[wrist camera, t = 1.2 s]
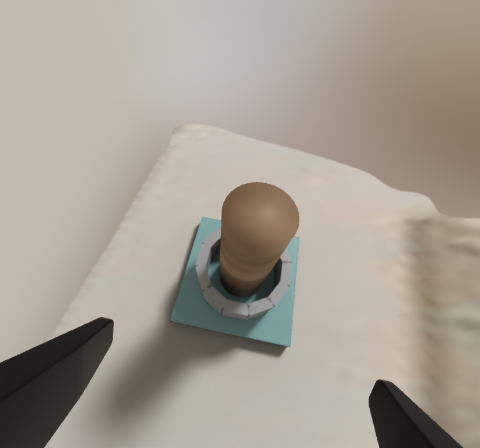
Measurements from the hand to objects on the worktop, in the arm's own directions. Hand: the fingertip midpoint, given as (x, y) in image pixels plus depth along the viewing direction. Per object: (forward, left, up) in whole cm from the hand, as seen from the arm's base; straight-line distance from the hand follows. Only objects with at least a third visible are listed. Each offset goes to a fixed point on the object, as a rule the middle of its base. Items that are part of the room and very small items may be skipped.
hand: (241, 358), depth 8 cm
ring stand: (+7, 0, -13) cm, 15 cm away
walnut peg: (+7, 0, -12) cm, 14 cm away
